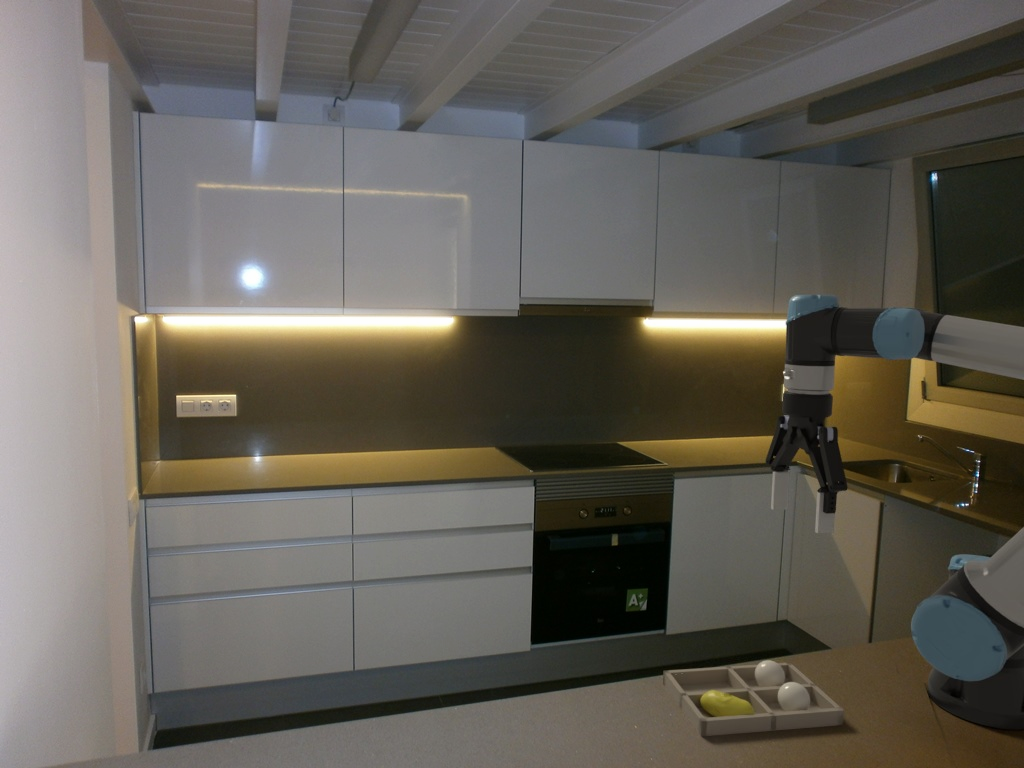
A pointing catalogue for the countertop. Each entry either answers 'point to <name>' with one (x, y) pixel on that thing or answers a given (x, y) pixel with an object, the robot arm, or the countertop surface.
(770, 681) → the egg back right
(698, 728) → the divided tray
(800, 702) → the egg back left
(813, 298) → the robot arm
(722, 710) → the yellow oval piece
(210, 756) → the countertop surface
